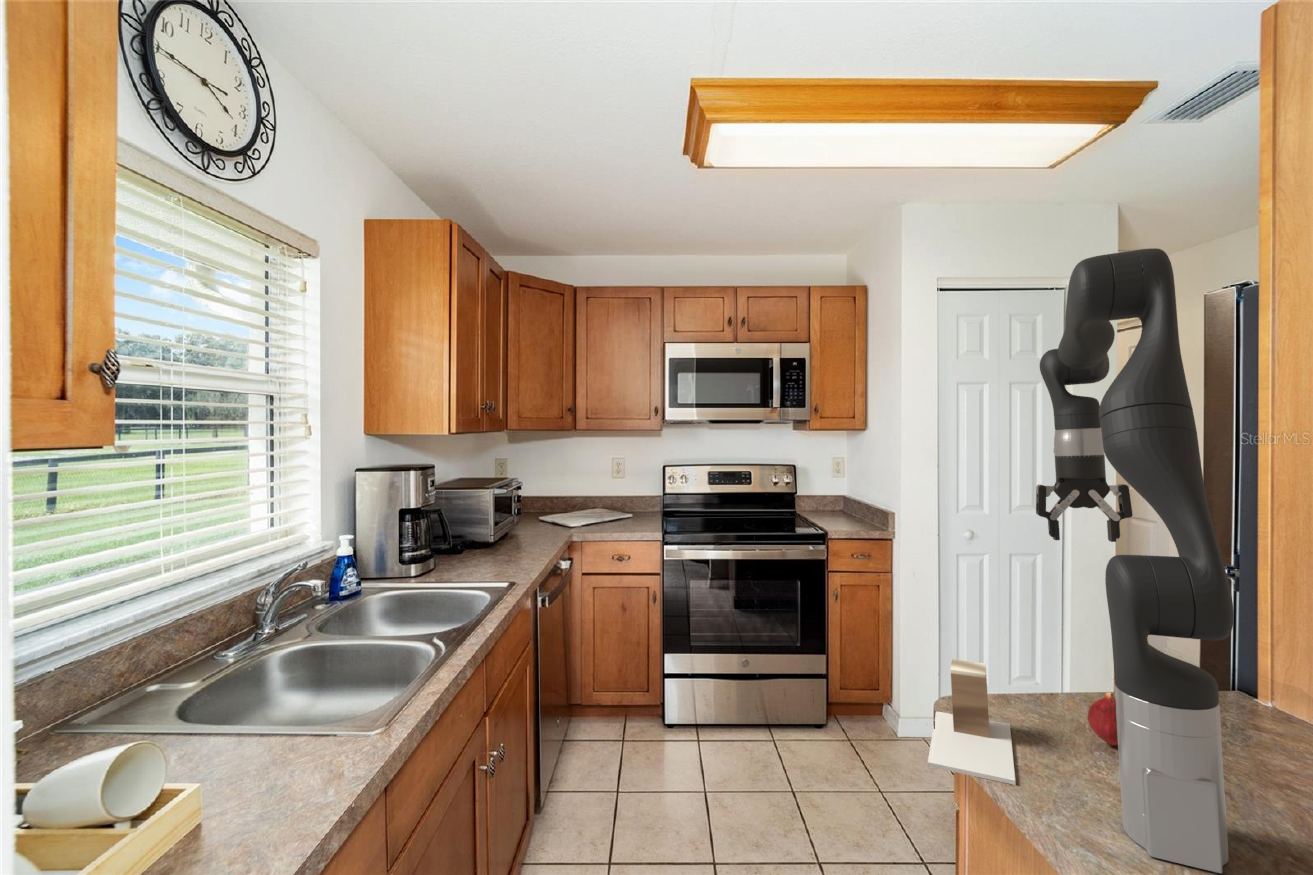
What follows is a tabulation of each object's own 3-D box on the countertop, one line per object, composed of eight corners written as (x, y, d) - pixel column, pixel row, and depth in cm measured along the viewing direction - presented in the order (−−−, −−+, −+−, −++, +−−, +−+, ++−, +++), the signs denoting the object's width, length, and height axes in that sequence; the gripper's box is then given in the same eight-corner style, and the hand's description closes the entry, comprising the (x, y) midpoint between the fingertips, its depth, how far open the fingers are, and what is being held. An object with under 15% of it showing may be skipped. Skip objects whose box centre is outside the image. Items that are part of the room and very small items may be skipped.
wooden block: (989, 738, 91) (985, 674, 91) (953, 731, 93) (950, 669, 93) (988, 724, 95) (985, 663, 95) (955, 718, 97) (951, 659, 98)
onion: (1144, 758, 84) (1141, 703, 85) (1098, 752, 86) (1095, 699, 86) (1126, 738, 90) (1123, 687, 90) (1083, 734, 92) (1080, 684, 92)
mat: (1015, 785, 79) (1015, 780, 79) (927, 766, 85) (927, 762, 85) (1009, 727, 95) (1009, 724, 95) (936, 714, 100) (936, 711, 100)
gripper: (1037, 455, 106) (1042, 542, 106) (1133, 452, 101) (1139, 545, 100) (1030, 454, 113) (1034, 536, 113) (1119, 451, 107) (1125, 538, 107)
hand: (1084, 540), depth 106 cm, fingers open, 8 cm apart
